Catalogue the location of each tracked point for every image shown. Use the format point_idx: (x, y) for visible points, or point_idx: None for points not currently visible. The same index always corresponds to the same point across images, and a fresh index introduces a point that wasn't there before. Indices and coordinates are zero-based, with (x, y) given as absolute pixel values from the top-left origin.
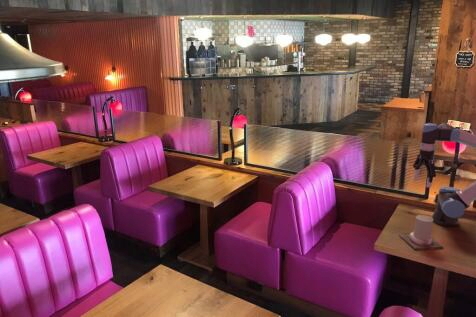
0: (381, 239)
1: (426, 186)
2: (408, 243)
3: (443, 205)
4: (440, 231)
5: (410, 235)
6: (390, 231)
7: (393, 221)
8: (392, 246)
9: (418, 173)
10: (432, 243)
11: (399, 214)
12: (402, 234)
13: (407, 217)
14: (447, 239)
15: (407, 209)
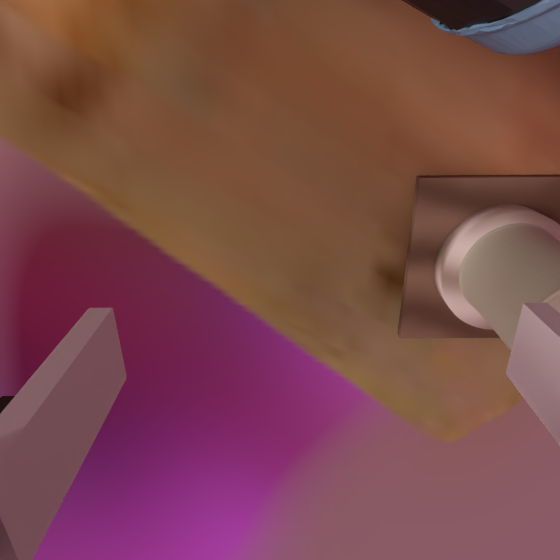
0: (411, 421)
1: (512, 378)
2: (496, 335)
3: (525, 50)
4: (402, 37)
5: (476, 325)
6: (340, 350)
7: (217, 279)
8: (486, 406)
9: (57, 408)
10: (551, 218)
11: (107, 189)
12: (405, 323)
13: (157, 158)
14: (519, 65)
15: (2, 76)
